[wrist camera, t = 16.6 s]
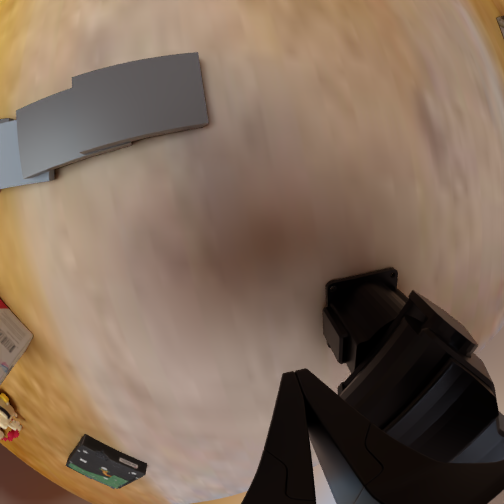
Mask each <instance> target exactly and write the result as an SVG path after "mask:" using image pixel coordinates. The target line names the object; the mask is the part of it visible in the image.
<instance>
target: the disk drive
mask: <svg viewBox="0 0 504 504" xmlns="http://www.w3.org/2000/svg"><path fill="white" fill-rule="evenodd" d="M66 466H67V467H69V468H71V469H73V470H75V471H77V472H79V473H81V474H83V475H85V476H86V477H88V478H90V479H94V480H96V481H98V482H100V483H103V484H105V485H107V486H110V487H111V488H113V489H115V488H116V489H118V488H121V487H123V486H125V485H127V484H129V483H131V482H133V481H135V480H137V479H138V478H141V477H143V476H144V475H145V474H146V468H147V463H144V462H142V461H140V460H137V459H135V458H133V457H130V456H128V455H126V454H124V453H122V452H119V451H117V450H115V449H113V448H111V447H109V446H107V445H105V444H103V443H101V442H99V441H98V440H96V439H94V438H92V437H90V436H88V435H87V434H85V435H84V436H83V437H82V438H81V440H80V442H79V443H78V445H77V446H76V448H75V449H74V450H73V452H72V453H71V454H70V456H69V458H68V460H67V463H66Z"/></svg>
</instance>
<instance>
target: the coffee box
mask: <svg viewBox="0 0 504 504" xmlns="http://www.w3.org/2000/svg"><path fill="white" fill-rule="evenodd" d="M497 21H498V23H499V26H500V29H501V31H502V34H503V37H504V16H501V17H497Z"/></svg>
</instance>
